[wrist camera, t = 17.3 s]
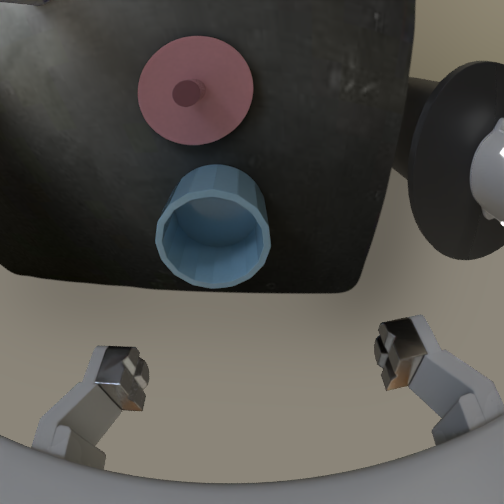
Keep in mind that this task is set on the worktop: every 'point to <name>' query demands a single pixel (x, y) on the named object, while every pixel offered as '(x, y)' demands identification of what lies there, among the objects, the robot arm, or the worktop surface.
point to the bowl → (214, 228)
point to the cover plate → (218, 85)
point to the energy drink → (27, 2)
